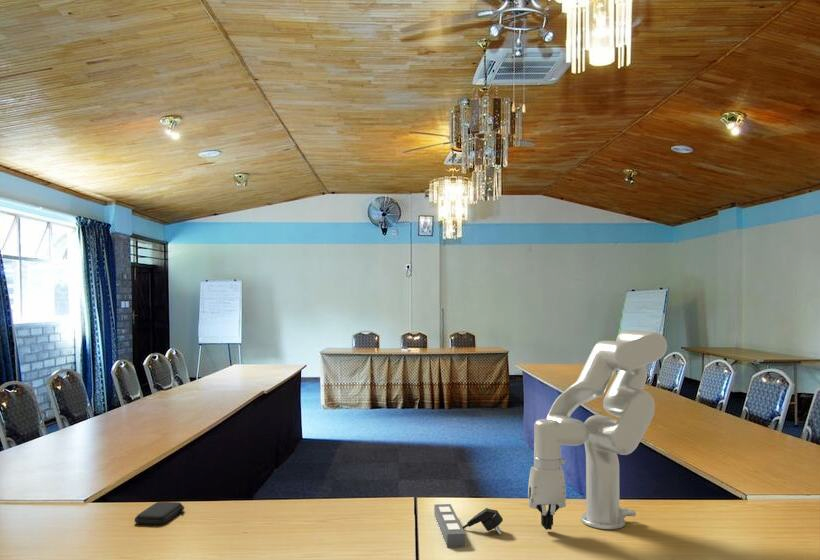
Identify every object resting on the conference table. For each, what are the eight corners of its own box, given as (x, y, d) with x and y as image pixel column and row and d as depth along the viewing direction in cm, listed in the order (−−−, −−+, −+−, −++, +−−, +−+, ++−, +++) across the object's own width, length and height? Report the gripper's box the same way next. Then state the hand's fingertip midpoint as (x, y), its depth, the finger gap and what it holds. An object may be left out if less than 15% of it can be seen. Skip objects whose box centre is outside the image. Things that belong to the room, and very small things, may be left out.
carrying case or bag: (166, 528, 180) (189, 510, 195) (166, 517, 180) (189, 501, 195) (131, 526, 181) (156, 509, 196) (131, 516, 181) (156, 499, 196)
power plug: (460, 523, 181) (493, 501, 179) (475, 545, 180) (508, 524, 178) (458, 530, 176) (492, 508, 174) (473, 553, 175) (508, 531, 173)
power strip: (450, 515, 190) (450, 503, 190) (465, 546, 166) (465, 532, 166) (434, 516, 189) (434, 503, 189) (447, 547, 166) (447, 533, 166)
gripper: (567, 459, 182) (567, 522, 181) (518, 460, 180) (518, 523, 180) (577, 466, 174) (577, 532, 174) (525, 467, 173) (525, 533, 172)
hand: (547, 527), depth 177 cm, fingers closed
